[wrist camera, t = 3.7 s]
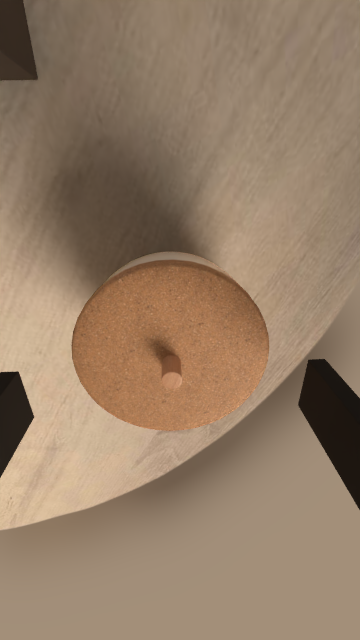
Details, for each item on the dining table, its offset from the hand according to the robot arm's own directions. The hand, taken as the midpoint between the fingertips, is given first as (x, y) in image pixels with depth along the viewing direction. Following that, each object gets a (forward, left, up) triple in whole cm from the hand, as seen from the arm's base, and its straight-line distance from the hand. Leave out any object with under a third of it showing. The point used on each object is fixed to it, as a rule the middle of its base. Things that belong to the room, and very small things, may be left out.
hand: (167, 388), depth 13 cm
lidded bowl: (0, 0, -10) cm, 10 cm away
